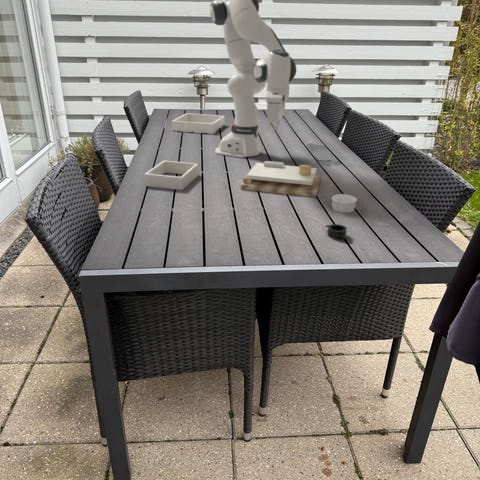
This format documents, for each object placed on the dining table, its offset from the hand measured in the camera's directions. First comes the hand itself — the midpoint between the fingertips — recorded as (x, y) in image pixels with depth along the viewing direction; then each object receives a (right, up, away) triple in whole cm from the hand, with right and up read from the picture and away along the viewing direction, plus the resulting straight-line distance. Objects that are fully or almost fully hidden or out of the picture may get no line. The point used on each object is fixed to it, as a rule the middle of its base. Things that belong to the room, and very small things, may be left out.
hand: (275, 129), depth 190 cm
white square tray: (-40, +23, +93) cm, 104 cm away
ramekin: (+23, -34, -20) cm, 46 cm away
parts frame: (-43, -20, +5) cm, 48 cm away
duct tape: (+16, -44, -40) cm, 62 cm away
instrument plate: (+3, -18, +1) cm, 19 cm away
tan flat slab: (+3, -22, +3) cm, 22 cm away
